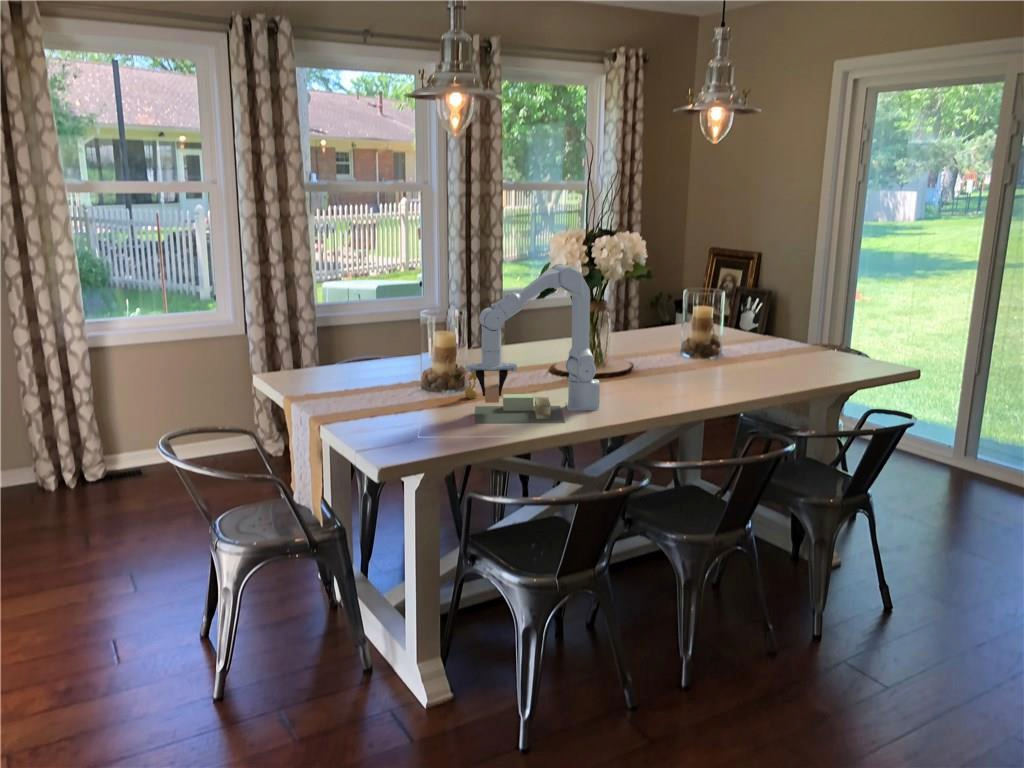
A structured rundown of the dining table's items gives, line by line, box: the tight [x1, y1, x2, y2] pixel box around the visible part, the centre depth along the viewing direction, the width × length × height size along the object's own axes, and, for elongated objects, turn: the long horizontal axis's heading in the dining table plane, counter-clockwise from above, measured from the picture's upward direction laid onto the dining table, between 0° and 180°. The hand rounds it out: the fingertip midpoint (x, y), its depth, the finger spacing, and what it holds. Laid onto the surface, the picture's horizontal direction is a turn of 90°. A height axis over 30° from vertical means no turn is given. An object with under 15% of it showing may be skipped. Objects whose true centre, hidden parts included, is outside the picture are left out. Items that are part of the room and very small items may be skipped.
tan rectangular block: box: [484, 381, 500, 404], centre depth 244 cm, size 4×9×4 cm, turn 2°
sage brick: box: [502, 393, 534, 411], centre depth 252 cm, size 9×4×4 cm, turn 92°
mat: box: [474, 405, 566, 425], centre depth 246 cm, size 26×18×1 cm
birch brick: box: [534, 396, 552, 419], centre depth 246 cm, size 4×9×4 cm, turn 2°
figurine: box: [459, 363, 486, 400], centre depth 262 cm, size 8×6×12 cm
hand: (491, 395), depth 245 cm, fingers closed on tan rectangular block, 4 cm apart
